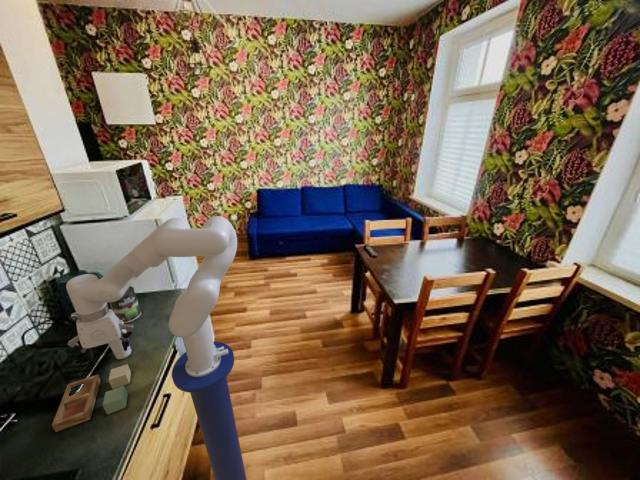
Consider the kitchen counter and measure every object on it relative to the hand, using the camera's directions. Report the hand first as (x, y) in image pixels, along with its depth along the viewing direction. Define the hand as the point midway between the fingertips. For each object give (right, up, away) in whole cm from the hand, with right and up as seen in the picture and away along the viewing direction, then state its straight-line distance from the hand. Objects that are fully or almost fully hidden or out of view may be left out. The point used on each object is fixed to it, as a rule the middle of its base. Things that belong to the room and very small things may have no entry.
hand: (109, 353), depth 90 cm
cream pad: (0, -12, +5) cm, 13 cm away
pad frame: (-8, -16, -3) cm, 18 cm away
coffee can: (-20, +1, +38) cm, 43 cm away
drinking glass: (-7, -8, +16) cm, 19 cm away
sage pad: (+5, -16, -3) cm, 17 cm away
